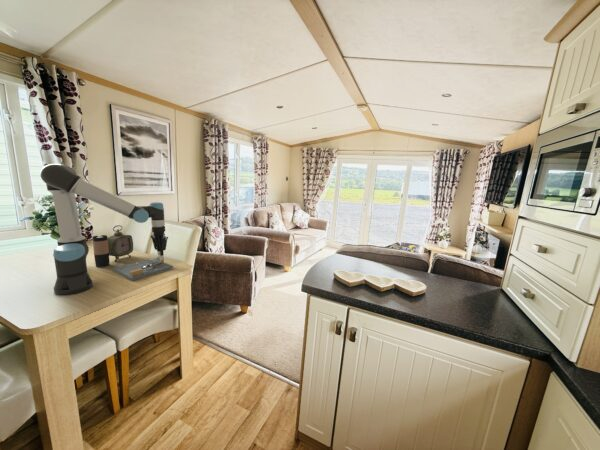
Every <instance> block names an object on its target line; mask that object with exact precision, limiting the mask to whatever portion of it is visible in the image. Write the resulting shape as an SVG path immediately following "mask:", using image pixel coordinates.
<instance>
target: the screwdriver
mask: <svg viewBox="0 0 600 450" xmlns="http://www.w3.org/2000/svg"><path fill="white" fill-rule="evenodd" d="M149 269H153V267H151V268H148V269H144V270H143V269H141V268H140V269H136V270H132V271H129V273H130V276H135V275H139V274H142V273H143V271H146V270H149Z"/></svg>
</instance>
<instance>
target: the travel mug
mask: <svg viewBox="0 0 600 450" xmlns="http://www.w3.org/2000/svg"><path fill="white" fill-rule="evenodd" d="M107 238H108V235H106V234H102V235H100V236H99V235H93V236H92V247H93V255H94V256H93V257H94V263H95V267H96V268H105V267H108V266H110V265H111V264H110V256H109V248H108V239H107Z"/></svg>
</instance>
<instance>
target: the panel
mask: <svg viewBox="0 0 600 450" xmlns="http://www.w3.org/2000/svg"><path fill="white" fill-rule="evenodd" d="M149 259H150V258H148V259H144V260H141V261H137V262H131V263H128V264H124V265H119V266H115V267H112V271H113V273H116V274H118V275H120V276H122V277H124V278H125V279H127V280H129V281H131V282H132V281H135V280H139V279H140V280H141V279H143V278H146V277H150V276H153V275H156V274H160V273H163V272H167V271H170V270H172V269H171V268H173V269H174V265H172V264H169V263H167V262H165V261H164V262H163V263H160V264H157V265H155V266H153V269H149V270H146V271H143V273H142V274H139V275H135V276H130V273H129V271H132V270H136V269H140V268H141V269H142V266H144V265H149ZM169 269H170V270H169ZM143 270H144V269H143ZM166 270H167V271H166Z"/></svg>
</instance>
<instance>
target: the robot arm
mask: <svg viewBox="0 0 600 450" xmlns="http://www.w3.org/2000/svg"><path fill="white" fill-rule="evenodd" d="M39 175H40V177H41V180H42V181H43V183H45V184H46V190H47V191H48V192H49V193H51V195H52V199H53V204H54V210H55V217H56V219H57V220H56V221H57V226H58V232H59V235H60V236H59V238H58V239H57V242H56V243H57V246H56V247H55V248H54V249H53V254H52V256H53V258H54V259H53V260H54V265H55V273H56V280H55V283H54V286H53V293H54V294H55V295H58V296H68V295H74V294H78V293H83V292H85V291H87V290H90V289H91V288H92V287H94V281H93V279H92V278H91V276H90V275H89V273H88V267H87V256H88V254H89V252H90V248H89V245H88V243H87V238H86V236H84V235H82V230H81V224H80V217H79V211H78V206H77V200H76V195H78V196H79V197H82V198H85V199H87V200H89V201H91V202H93V203H95V204H98V205H101V206H102V207H105V208H106V209H109V210H112V211H113V212H116V213H118V214H121V215H123V216H126V217H128V219H131V220H133V221H135V222H137V223H140V224H143V223H145V222H147V221H148V220H149V218H151V219H150V223H151V231H152V235H150V238H151V239H152V240H151V241H152V245H153V248H154V250H156V251H157V256H158V257H159V261H161V260H163V255H164V251H166V250H167V243H168V240H169V236H166V233H165V232H166V226H165V225H166V224H165V222H166V221H165V220H166V219H165V208H164V203H163V202H156V201H155V202H150V203H149V205H147V206H145V205H142V206H141V205H135V204H133V203H131V202H129V201H126V200H125V199H123V198H120V197H119V196H116V195H114V194H113V193H110V192H108V191H106V190H103V189H102V188H100V187H97V186H96V185H94V184H91V183H90V182H88V181H85V180H83V178H82V176H79V175H78V174H77V172H76V171H75V170H74V169H73V168H72V167H70V166H68V165H66V164H63V163H62V164H61V163H50V164H47V165H44V167H42V168H41V170H40V174H39Z"/></svg>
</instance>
